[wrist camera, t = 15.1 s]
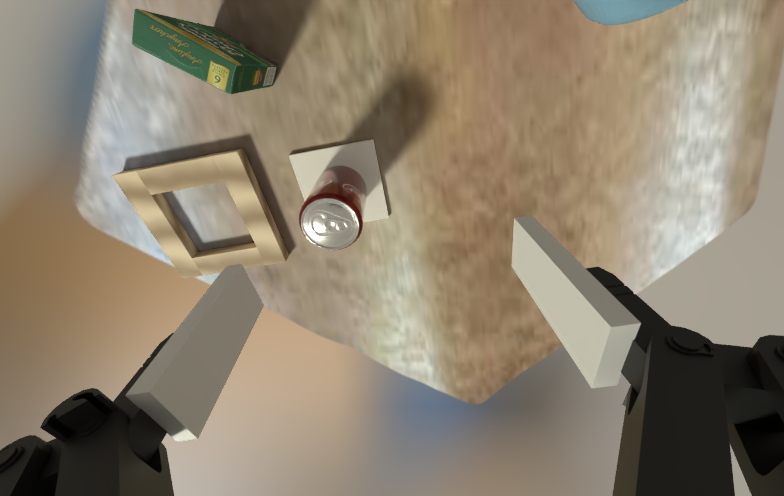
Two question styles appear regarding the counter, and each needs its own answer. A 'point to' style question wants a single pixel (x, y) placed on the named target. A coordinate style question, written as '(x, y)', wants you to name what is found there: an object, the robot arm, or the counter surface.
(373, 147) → the tile
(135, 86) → the counter surface
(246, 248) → the well board
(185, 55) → the coffee box
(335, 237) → the soda can
